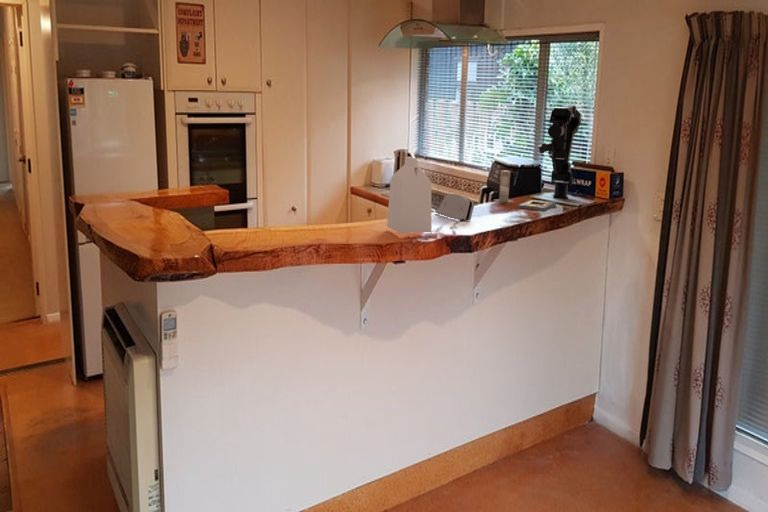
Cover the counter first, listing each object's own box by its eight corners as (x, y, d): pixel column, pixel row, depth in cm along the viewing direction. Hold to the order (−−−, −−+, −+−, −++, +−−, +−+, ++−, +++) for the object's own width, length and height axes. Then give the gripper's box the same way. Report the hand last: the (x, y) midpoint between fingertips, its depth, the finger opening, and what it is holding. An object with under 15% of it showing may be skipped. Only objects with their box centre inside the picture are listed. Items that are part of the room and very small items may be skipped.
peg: (498, 199, 303) (500, 170, 299) (508, 200, 302) (510, 170, 299) (499, 201, 299) (501, 171, 296) (508, 201, 298) (510, 171, 295)
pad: (505, 199, 305) (505, 198, 305) (514, 202, 299) (514, 201, 299) (492, 200, 302) (492, 199, 302) (501, 203, 296) (501, 202, 296)
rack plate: (531, 203, 298) (531, 199, 298) (556, 205, 293) (556, 202, 292) (518, 208, 285) (518, 204, 285) (543, 211, 280) (544, 207, 279)
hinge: (434, 214, 269) (442, 189, 268) (443, 217, 272) (451, 193, 271) (460, 222, 255) (468, 196, 254) (469, 225, 258) (477, 200, 257)
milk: (386, 231, 238) (388, 155, 231) (416, 229, 242) (419, 155, 235) (400, 238, 227) (402, 160, 220) (431, 236, 231) (434, 159, 225)
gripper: (538, 134, 305) (535, 169, 309) (541, 137, 287) (538, 174, 291) (563, 135, 304) (560, 171, 307) (569, 138, 286) (565, 176, 290)
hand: (555, 173), depth 299 cm, fingers open, 9 cm apart
